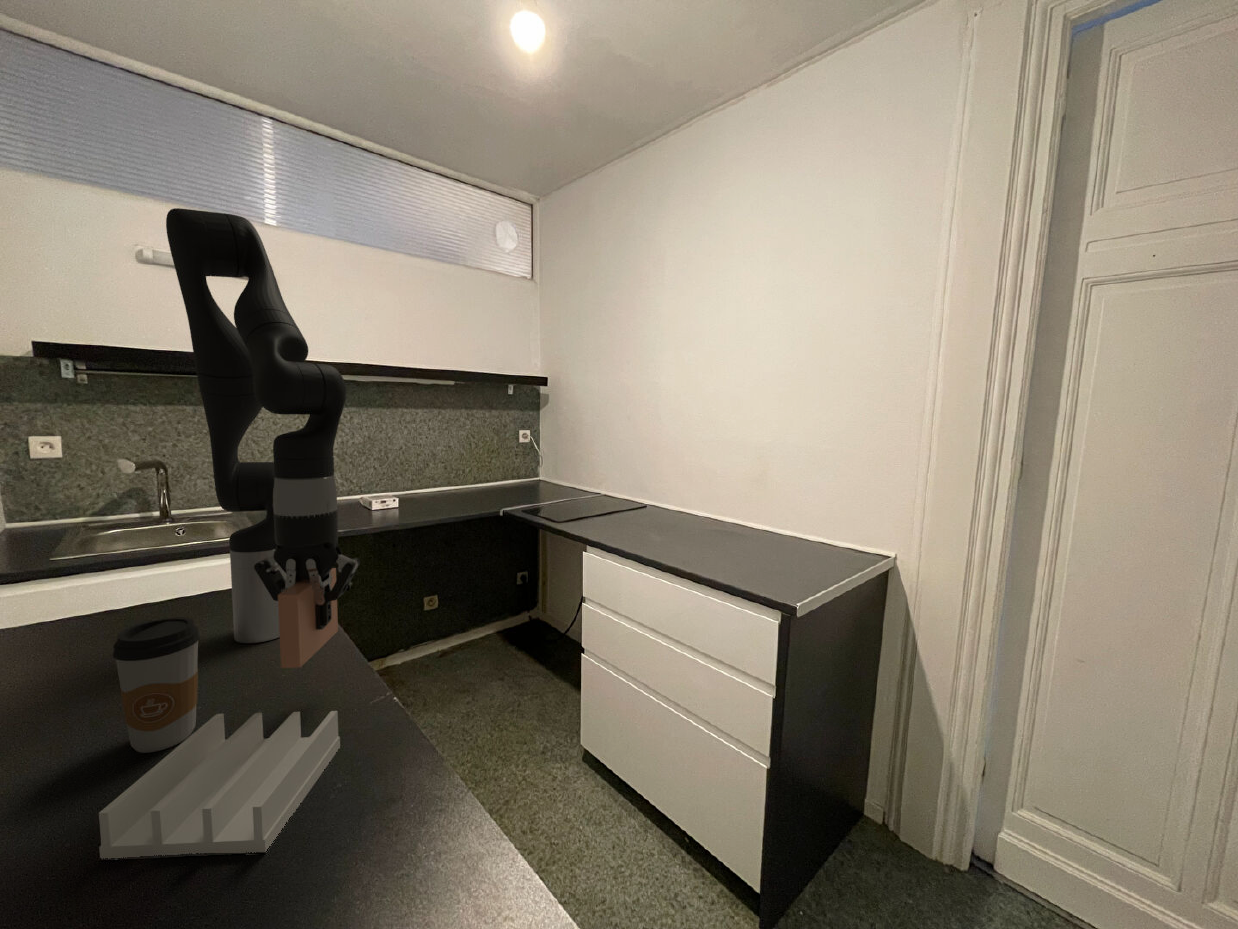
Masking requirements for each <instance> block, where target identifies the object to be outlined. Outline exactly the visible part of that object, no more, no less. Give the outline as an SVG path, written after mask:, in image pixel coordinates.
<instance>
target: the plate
mask: <svg viewBox="0 0 1238 929" xmlns="http://www.w3.org/2000/svg"><path fill="white" fill-rule="evenodd" d="M331 577H332V581H331V588H333V587H334V585H335V583H336V581H337V568H336V567H333V568H332V570H331ZM315 605H317V603H316V601H315V595H314V590H313V589H312V585H311V583H310V581H309V580H302V581H299V582H297V584H295V585H292V586H291V587H289V588H288V589H286V590H285V591H283V592H282V593H280V594H279V595H278V610H279V632H280V637H279V651H280V652H279V653H280V669H290V668H291V669H292V668H295V669H296V668H302V666H304V665H305V664H306V663H307V662H308V661H309V659H311V658H312V657H313V656H314V655H315V654H316V653H317V652H318V651H319V650H320V649H321V648H322V647H323V646H324V645H326V644H327V643H328V641H329V640H331V638H332V637H333V636H335V635H336V634H337V633H338V632H339V623H338V622H339V621H338V620H339V618H338V599H337V600H335V601H331V612H332V619H331V621H330V622H329V623H328V624H327V626H326V627H324V628H323V629H322V630H317V629H316V616H315Z"/></svg>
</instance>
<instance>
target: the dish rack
mask: <svg viewBox="0 0 1238 929" xmlns="http://www.w3.org/2000/svg"><path fill="white" fill-rule="evenodd" d="M338 712H339V711H338V710H331V711H329V713H328V714H327V715H326V717H325V718H324V719H323V720H322V721H321V723H320V724H319V725H318V727H317V728H316V729H315V730H314V731H313V733H312V734H311V735H310V736H308V737H307V736H306V737H302V731H301V730H302V729H301V727H302V726H301V724H302V723H301V711H293V712H292V713H291V714H290V715H289V716H288V717H287V718H286V719H285V720H284V721H283V723H281V724H280V725H279V727H278V728H277V729H276V730H275V731H274V732H273V733H272V734H271V735H270V736H269V738H264V726H263V712H255V713H253V714H252V715H251V716H250V718H248V719H247V720H246V721H245V722H244V723H243V724H242V725H241V726H240V727H239V728H238V729H236V731H234V733H232V734H231V735H230V736H229V737H228V738H227V739H226V737H225V736H226V735H225V731H226V730H225V718H224V716H225V714H224V713H216V714H214V715H213V716H212V717H211V718H210V719H209V720H207V721H206V722H205V723H204V724H203V725H202V726H200V727H199V728H198V729H197V730H196V731H194V732H192V733H191V735H190V736H189V737H188V738H186V739H185V740H183V741H182V742H181V743H179V745H178V746H177V747H175V748H174V749H173V750H172V751H171V752H169V754H167V755H166V756H165V757H163V759H161V760H160V761H158V763H156V764H155V765H154V766H153V767H152V768H150V769H149V770H148V771H147V772H146V773H144V774H143V775H141V777H140V778H138V779H137V780H136V781H135V782H134V783H132V785H130V786H129V787H128V788H126V790H124V791H123V792H122V793H121V794H119V796H117V797H115V799H113V801H112V802H110V803H109V804H108V805H106V806H105V807H104V808H103V809H101V811H99V812H98V821H99V830H100V831H99V832H100V845H99V848H98V849H99V859H100V858H102V859H103V858H104V859H105V858H108V859H109V858H110V859H111V858H123V857H124V858H125V857H126V858H127V857H140V856H154V855H155V856H156V855H157V856H158V855H162V856H163V855H164V856H165V855H178V854H179V855H180V854H189V853H190V854H191V853H192V854H196V853H199V854H200V853H202V854H203V853H246V852H247V853H248V852H249V853H250V852H252V853H254V852H255V853H256V852H266V851H267V849H268V848H269V846H271V847H272V845H273V844H274V842H275V841H276V840H275V839H277V838H278V837H279V835H280V834H281V833H282V831H283V830H282V828H283V829H284V828H285V827H286V825H287V824H286V822H287V823H288V822H289V821H290V820H289V818H290V817H291V816H292V817H293V816H294V814H295V812H296V811H297V810H298V808H299V807H300V805H301V804H302V803H303V801H304V800H305V798H306V797H307V795H308V794H309V792H310V791H311V790H312V788H313V787H314V786H315V784H316V782H317V781H318V780H319V778H320V777H321V776H322V774H323V773H324V771H325V770H324V769H326V768H327V767H328V765H329V764H330V763H329V762H331V761H332V760H333V758H334V757H335V755H336V754H337V753H338V751H339V750H340V748H341V736H339V718H338V716H339V713H338ZM338 749H339V750H338ZM336 752H337V753H336ZM300 803H301V804H300ZM296 809H297V810H296ZM293 813H294V814H293ZM292 817H291V818H292ZM291 818H290V819H291ZM288 820H289V821H288ZM285 824H286V825H285ZM284 826H285V827H284ZM281 830H282V831H281ZM279 833H280V834H279ZM278 834H279V835H278ZM277 836H278V837H277ZM276 837H277V838H276ZM274 840H275V841H274ZM273 841H274V842H273ZM272 843H273V844H272ZM271 844H272V845H271ZM269 849H270V848H269ZM269 849H268V850H269ZM267 852H268V851H267ZM267 852H266V853H267Z"/></svg>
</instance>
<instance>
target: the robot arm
mask: <svg viewBox="0 0 1238 929" xmlns="http://www.w3.org/2000/svg"><path fill="white" fill-rule="evenodd" d="M165 228H166V235H167V242H168V246H169V249H170V254H171V258H172V262H173V266H174V269H175V272H176V277H177V280H178V281H177V282H178V285H179V288H180V291H181V292H180V293H181V297H182V300H183V304H184V307H185V311H186V316H187V317H186V318H187V322H188V327H189V331H190V332H189V333H190V339H191V344H192V352H193V359H194V366H195V372H196V377H197V381H198V387H199V391H200V392H199V393H200V396H201V400H202V405H203V409H204V415H205V419H206V423H207V428H208V434H209V443H210V448H211V450H210V451H211V460H212V469H213V480H214V488H215V490H214V491H215V495H216V498H217V502H218V504H219V506H220V507H221V508H222V510H224V511H225V512H231V513H242V512H243V513H244V512H245V513H246V512H247V513H248V512H266V515H265V518H263V519H262V520H261V521H259V522H257V523H255V524H253V525H250V526H247V527H243V528H241V529H239V530H236V531H234V532H232V533H231V534H230V535H229V541H228V542H229V544H228V545H229V561H230V564H229V565H230V579H231V596H232V617H233V618H232V620H233V638H234V641H236V642H237V643H242V644H257V643H263V642H267V641H272V640H275V639H278V638H280V632H279V610H278V595H279V594H280V593H282V592H283V591H285V590H286V589H288V588H289V587H291V586H292V585H295V584H297V582H299V581H302V580H309V581H310V583H311V585H312V589H313V590H314V595H315V601H316V603H317V605H315V616H316V629H317V630H322V629H323V628H324V627H326V626H327V624H328V623H329V622H330V621H331V619H332V612H331V601H335V600H337V601H338V599H339V598H340V597H341V596H343V595H344V594H345V593H346V591H347V589H348V588H349V585H350V583H351V581H352V580H353V578H354V575H355V574H356V571H357V570H358V568H359V566H360V564H361V560H360V559H359V558H358V557H353V558H350V557H348V556H346V555H344V554H342V550H341V548H340V546H339V544H338V541H339V526H338V525H339V520H338V517H339V516H338V494H337V491H338V490H337V484H336V480H335V459H334V457H335V456H334V446H335V442H336V441H335V440H336V437H337V434H338V430H339V429H338V428H339V425H340V421H341V417H342V415H343V411H344V407H345V403H346V400H347V388H346V382H345V380H344V378H343V376H342V374H341V372H339V370H338V369H337V368H335V367H334V366H332V365H330V364H326V363H313V362H305V361H306V360H307V358H308V357H309V356H308V355H309V346H308V343H307V341H306V339H305V337H304V335H303V333H302V331H301V330H300V328H299V326H298V325H297V323H296V321H295V319H294V317H293V316H292V315H291V313H290V312H289V310H288V307H287V305H286V303H285V301H284V299H283V296H282V292H281V291H280V288H279V287H280V286H279V285H278V281H277V279H276V275H275V272H274V270H273V267H272V264H271V262H270V259H269V257H268V253H267V251H266V248H265V245H264V243H263V240H262V238H261V236H260V234H259V232H258V231H257V229H256V226H254V224H253V223H251V221H249V220H248V219H247V218H246V217H243V216H242V215H241V216H240V215H236V214H233V213H226V212H225V213H223V212H222V213H221V212H215V211H206V210H200V209H198V210H197V209H189V208H180V207H179V208H178V207H176V208H175V207H174V208H171V209H170V210H169V211H168V212H167V215H166V219H165ZM207 277H220V278H239V279H240V278H247V279H248V280H247V283H246V285H245V286H244V289H243V290H242V291H241V293H240V295H239V297H238V298H237V300H236V303H235V305H234V309H233V310H234V311H233V320H234V324H233V323H232V322H231V320H230V319H229V318H228V317H227V316H226V314H225V313H224V312H223V310H222V309H221V308H220V306H219V305H218V303H217V302H216V300H215V299H214V297H213V295H212V292H211V291H210V288H209V285H208V282H207ZM262 409H265V410H266V411H268V412H270V413H272V414H274V415H275V414H276V415H283V416H285V415H287V416H288V415H289V416H290V415H296V416H297V415H306V416H307V415H309V416H308V419H307V420H306V423H305V425H304V426H303V427H302V428H300V429H298V430H294V431H289V432H284V433H282V434H279V435H278V436H276V437H275V438H274V440H273V443H272V444H273V445H272V452H273V453H272V455H273V461H246V462H245V461H244V462H242V461H240V460H239V457H238V456H239V454H238V453H239V452H238V451H239V447H240V444H241V442H242V439H243V437H244V436H245V434H246V432H247V431H248V429H249V427H250V426H251V425H252V424H253V423H254V421H255V419H256V418H257V416H258V415H259V414H260V412H261V410H262ZM336 564H337V565H338V567H337V571H338V573H339V574H338V575H339V576H337V578H336V583H335V585H334V587H333V588H331V581H332V577H331V570H332V568H335V566H336Z"/></svg>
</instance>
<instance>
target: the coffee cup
mask: <svg viewBox="0 0 1238 929" xmlns="http://www.w3.org/2000/svg"><path fill="white" fill-rule="evenodd" d="M116 638H117V639H116V642H115V643H114V644H113V646H112V648H113V651H112V652H113V653H112V658H113V659H115V663H116V669H117V675H118V679H119V685H120V688H119V691H120V696H121V697H120V698H121V702H122V708H123V714H124V720H125V723H126V727H127V733H128V737H129V738H128V739H129V742H130V743H129V745H130V746H131V748H133V749H134V750H135V751H136V752H137V753H144V754H145V753H154V752H158V751H162V750H165V749H169V748H171V747H174V746H176V745H178V744H181V743H183V742H184V741H185V740H186V739H187V738H189V737H190V736H191V735H192V734H193V733H194V729H195V727H196V726H197V725H196V722H197V703H198V689H199V688H198V687H199V686H198V682H199V669H198V656H199V655H198V650H199V648H198V647H199V641H200V638H201V635H200V633H199V627H197V625H195V621H194V619H193V618H189V617H185V616H183V617H182V616H176V617H175V616H174V617H165V618H157V619H153V620H149V621H144V622H142V623H139V624H135V625H132V626H130V627H128V628H126V629H123V630H122V631H120V632H119V633H118V634H117V636H116Z"/></svg>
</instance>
